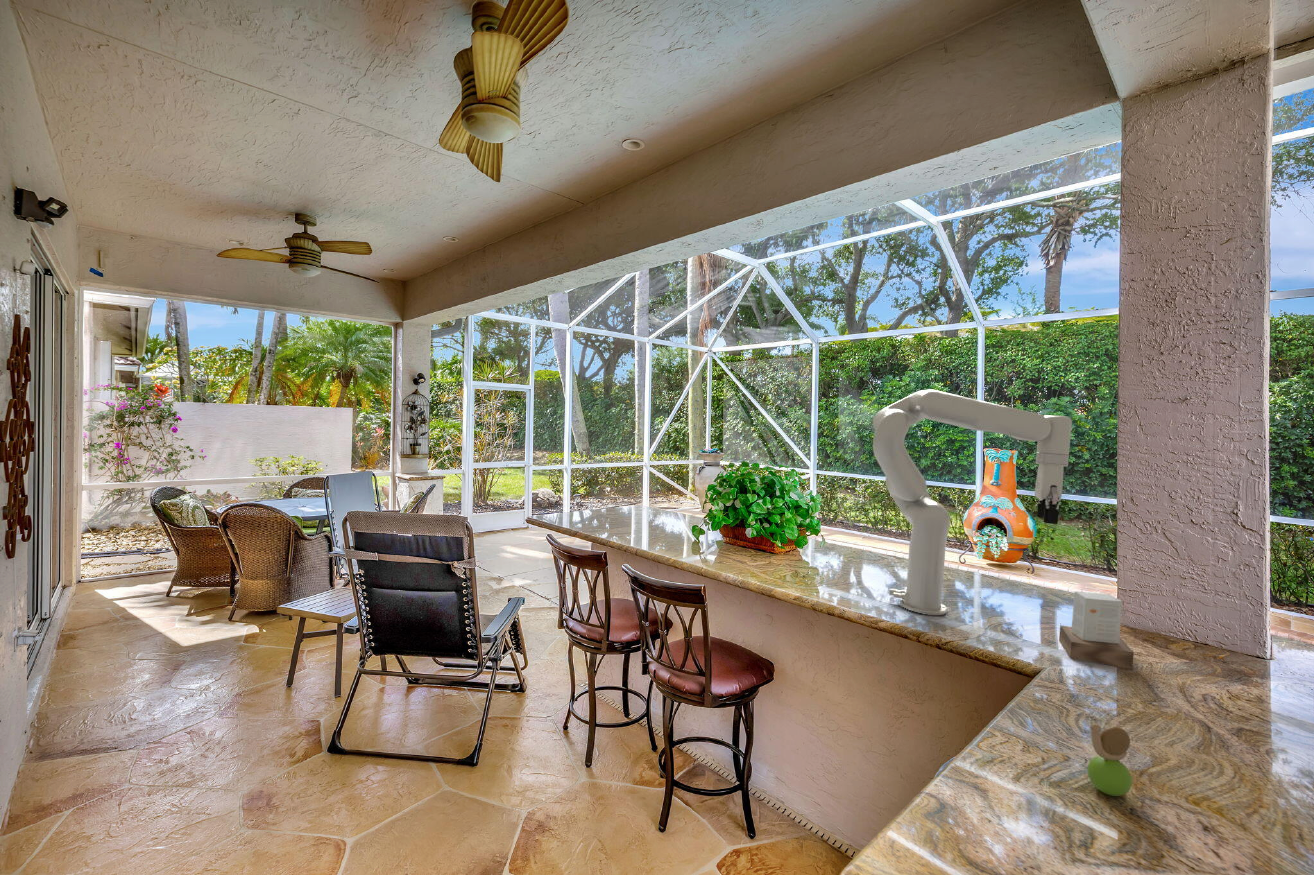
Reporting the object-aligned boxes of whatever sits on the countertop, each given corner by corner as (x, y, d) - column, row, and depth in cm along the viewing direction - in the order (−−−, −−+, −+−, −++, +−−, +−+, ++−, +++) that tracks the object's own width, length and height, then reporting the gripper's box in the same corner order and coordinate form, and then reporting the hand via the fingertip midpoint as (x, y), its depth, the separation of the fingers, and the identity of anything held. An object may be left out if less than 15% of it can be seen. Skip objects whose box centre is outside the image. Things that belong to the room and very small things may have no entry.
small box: (1106, 635, 145) (1110, 593, 145) (1119, 644, 140) (1123, 601, 139) (1070, 632, 147) (1074, 590, 146) (1082, 640, 141) (1086, 597, 141)
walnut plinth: (1070, 658, 141) (1071, 641, 140) (1058, 640, 152) (1060, 625, 151) (1132, 669, 136) (1133, 652, 136) (1116, 650, 147) (1117, 634, 146)
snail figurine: (1071, 781, 93) (1078, 707, 92) (1109, 780, 93) (1116, 707, 93) (1099, 804, 87) (1107, 726, 87) (1139, 804, 88) (1147, 726, 87)
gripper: (1030, 456, 174) (1026, 514, 175) (1042, 461, 158) (1036, 524, 159) (1061, 458, 171) (1056, 517, 172) (1075, 463, 155) (1070, 527, 156)
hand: (1046, 520), depth 165 cm, fingers open, 9 cm apart
